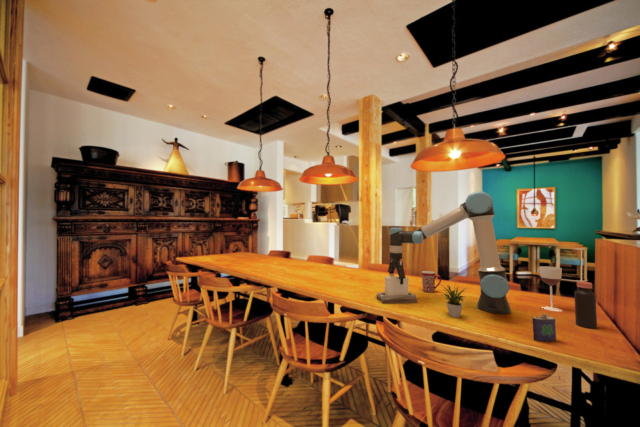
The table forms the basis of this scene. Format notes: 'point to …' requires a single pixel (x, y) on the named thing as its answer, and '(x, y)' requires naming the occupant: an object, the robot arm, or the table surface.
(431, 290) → the mug
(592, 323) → the bottle
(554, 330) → the flask
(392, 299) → the grey wooden tray
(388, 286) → the beige rectangular block
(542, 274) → the wineglass
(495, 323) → the table surface
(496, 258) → the robot arm
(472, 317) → the table surface
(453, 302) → the house plant
